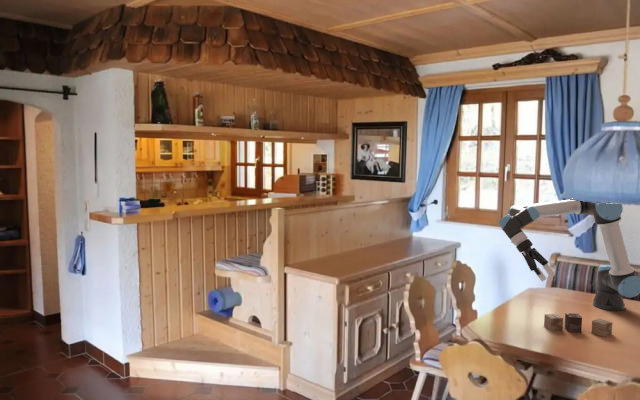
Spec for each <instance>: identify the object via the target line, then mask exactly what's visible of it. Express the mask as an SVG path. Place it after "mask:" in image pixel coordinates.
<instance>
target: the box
mask: <svg viewBox="0 0 640 400" xmlns="http://www.w3.org/2000/svg"><path fill="white" fill-rule="evenodd" d="M582 328H583V317H582V316H581V314H579V313H570V312H565V314H564V329H566V331H567V332H569V333H571V332H572V333H582Z"/></svg>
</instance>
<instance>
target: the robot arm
mask: <svg viewBox="0 0 640 400" xmlns="http://www.w3.org/2000/svg"><path fill="white" fill-rule="evenodd" d="M623 209H624V207H623V204H622V203H621V204H606V203H603V204H600V203H592V202H583V201H576V200H570V199H565V200H564V199H563V200H555V201H547V202H540V203H533V204H526V205H511V206H510V207H509V208H508V209H507V215H504V216H502V217H501V218H500V219H499V220H498V222H497V223H498V225H499V226H500V228H501V230H502V231H503V232H504V234H505V235H506V236H507V238H508V239H509V240H510V242H511V243H512V244H513V245H514V246H515V247H516V249H517V251H518V252H519V253H520V254H521V255H522V256H523V258H524V260H525V262H526V263H527V266H528V268H529V270H530V271H531V272H534V273H535V274H536V275H537V278H539V280H540V281H541V282H544V281H546V280H547V279H548V278H547V276H546V275H545V273H544V272H543V271H542V270H541V269H540V267H538V266H537V263H536V262H538V263H539V264H540V265H541V266H542V268H543V269H544V270H545V272H546V274H548V276H549V278H553V277H554V276H555V275H556V273H555V271H554V270H553V268H552V267H550V265H549V261H548V260H547V259H546V258H545V257H544V256H543V255H542V254H541V253H540V252H539V251H538V250H537V249H536V248H535V247H533V248H532V246H533V242H532V241H531V240H530V239H529V238H528V236H527V235H526V233H525V232H524V230H523V228H524V227H526V226H528V225H529V224H531V223H533V222H535V221H537V220H538V219H539V218H545V217H552V216H553V217H554V216H562V215H569V214H575V215H589V216H593V218H594V222H595V224H596V225H598V226H599V229H600V233H601V235H602V239H603V242H604V243H603V244H604V246H605V249H606V254H607V257H608V261H609V264H600V265H599V266H598V271H597V287H596V288H597V289H596V293H595V296H594V297H593V300H592V306H594V307H595V308H599V309H602V310H606V311H617V312H618V311H624V310H625V309H626V308H625V302H624V298H623V297H626V298H634V297H637V296H638V295H640V277H639V276H638V275H637V273H636V269H635V268H634V267H633V266H631V264H630V260H629V256H628V253H627V249H626V245H625V241H624V238H623V235H622V231H621V227H620V221H621V220H622V217H621V216H622V213H623Z"/></svg>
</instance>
